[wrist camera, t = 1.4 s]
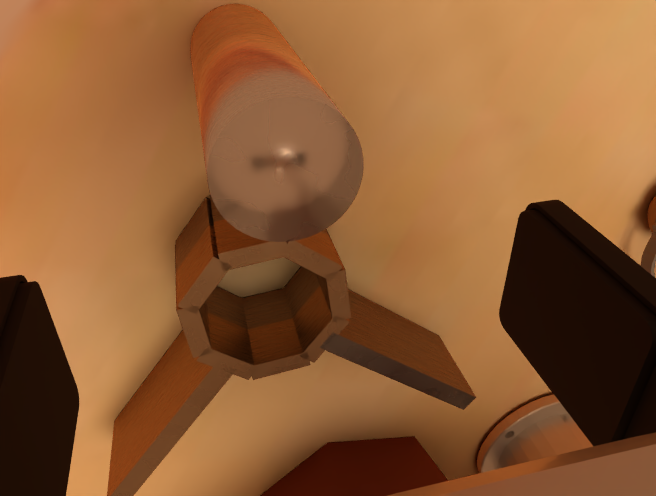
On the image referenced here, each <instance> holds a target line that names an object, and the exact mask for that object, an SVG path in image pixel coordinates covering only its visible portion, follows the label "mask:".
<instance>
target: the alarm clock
mask: <svg viewBox="0 0 656 496" xmlns="http://www.w3.org/2000/svg"><path fill="white" fill-rule="evenodd" d="M648 224H649V227H650V230H651V232H652V236H651V238H650V240H649V242H648V244H647V245H646V247H645V250H644V252H643V255H642V260H641V267H643V268H644V269H645V270H646V271H647V272H649V273H650V274H651V275H652V276H654V277H655V273H654V267H655V261H656V196H655V197H654V198H653V200H652V201H651V202H650V205H649V209H648Z"/></svg>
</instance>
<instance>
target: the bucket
mask: <svg viewBox="0 0 656 496" xmlns="http://www.w3.org/2000/svg"><path fill="white" fill-rule="evenodd" d="M446 481H448V480H447V479H446V477H445V476H444V475H443V473H442V472H441V471H440V470H439V468H438V467H437V466H436V464H435V463H434V462H433V460H432V459H431V458H430V456H429V455H428V454H427V452H426V451H425V450H424V448H423V447H422V446H421V444H420V443H419V442H418V441H417V439H416V438H415V437H414V436H412V437H398V438H384V439H371V440H357V441H343V442H329V443H326V444H325V445H324V446H323V447H321V448H320V449H319V450H317V451H316V452H315V453H314V454H312V455H311V456H310V457H309V458H307V459H306V460H305V461H303V462H302V463H301V464H300V465H298V466H297V467H296V468H295V469H293V470H292V471H291V472H289V473H288V474H287V475H286V476H284V477H283V478H282V479H281V480H279V481H278V482H277V483H275V484H274V485H273V486H272V487H270V488H269V489H268V490H267V491H265V492H264V493H263V494H262V495H261V496H387V495H392V494H396V493H400V492H404V491H408V490H412V489H416V488H421V487H425V486H429V485H433V484H437V483H441V482H446Z"/></svg>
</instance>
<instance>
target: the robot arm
mask: <svg viewBox="0 0 656 496" xmlns="http://www.w3.org/2000/svg"><path fill="white" fill-rule="evenodd" d="M499 317H500V321H501V324H502V326H503V328H504V329H505V331H506V332H507V333H508V335H509V336H510V337H511V338H512V340H513V341H514V342H515V344H516V345H517V346H518V348H519V349H520V350H521V352H522V353H523V354H524V356H525V357H526V358H527V360H528V361H529V362H530V364H531V365H532V366H533V367H534V369H535V370H536V371H537V373H538V374H539V375H540V377H541V378H542V379H543V381H544V382H545V383H546V385H547V386H548V387H549V389H550V390H551V391H552V393H553V395H549V396H545V397H542V398H540V399H537V400H535V401H532V402H530V403H528V404H526V405H524V406H522V407H520V408H519V409H517V410H516V411H514V412H513V413H511V414H510V415H508V416H507V417H506V418H505V419H503V420H502V421H501V422H500V423H499V424H498V425H497V426H496V427H495V428H494V429H493V430H492V431H491V432H490V433H489V435H488V436H487V438H486V439H485V441H484V442H483V444H482V446H481V448H480V451H479V453H478V458H477V468H478V472H479V474H475V475H471V476H466V477H462V478H458V479H454V480H450V481H446V482H441V483H437V484H433V485H429V486H425V487H421V488H416V489H412V490H408V491H404V492H400V493H396V494H392V495H387V496H656V278H655V277H654V276H652V275H651V274H650V273H649V272H647V271H646V270H645V269H644V268H643V267H641V266H640V265H639V264H638V263H636V262H635V261H634V260H633V259H631V258H630V257H629V256H628V255H627V254H625V253H624V252H623V251H622V250H620V249H619V248H618V247H617V246H616V245H614V244H613V243H612V242H611V241H609V240H608V239H607V238H606V237H604V236H603V235H602V234H601V233H600V232H598V231H597V230H596V229H595V228H593V227H592V226H591V225H590V224H589V223H587V222H586V221H585V220H584V219H582V218H581V217H580V216H579V215H578V214H576V213H575V212H574V211H573V210H571V209H570V208H569V207H568V206H566V205H565V204H564V203H563V202H561V201H559V200H550V201H543V202H536V203H531V204H529V205H528V206H527V208H526V210H525V211H523V212H521V214H520V215H519V218H518V223H517V228H516V233H515V237H514V242H513V247H512V252H511V257H510V262H509V266H508V271H507V276H506V281H505V286H504V291H503V295H502V300H501V305H500V310H499ZM78 410H79V394H78V389H77V385H76V383H75V380H74V377H73V375H72V372H71V369H70V366H69V364H68V361H67V358H66V356H65V353H64V350H63V347H62V345H61V342H60V339H59V337H58V334H57V331H56V328H55V326H54V323H53V320H52V318H51V315H50V312H49V309H48V307H47V304H46V301H45V299H44V296H43V293H42V290H41V288H40V286H39V284H38V283H37V282H36V281H33V282H27V280H26V278H25V277H24V276H22V275H17V276H10V277H3V278H0V496H66V491H67V484H68V477H69V471H70V464H71V457H72V450H73V444H74V437H75V430H76V424H77V417H78Z"/></svg>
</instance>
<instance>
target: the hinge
mask: <svg viewBox="0 0 656 496" xmlns="http://www.w3.org/2000/svg"><path fill="white" fill-rule="evenodd" d="M281 257H285V258H287V259H289V260H291V261H293V262H295V263H296V264H298V265H300V266H301V268H300V269H299V270H298V271H297V272H296V274H295V275H294V276H293V277H292V279H291V280H290V281H289V282H288V284H287V285H286V286H285V287H284V288H282V289H278V290H274V291H270V292H266V293H262V294H258V295H253V296H249V297H245V298H241V297H238V296H236V295H234V294H232V293H230V292H227V291H225V290H223V289H221V288H218V287H216V286H217V285H218V283H219V282H220V281H221V279H222V278H223V277H224V275H225V274H226V273H227V271H228V270H230V269H234V268H239V267H243V266H247V265H251V264H256V263H260V262H264V261H268V260H273V259H277V258H281ZM175 268H176V311H177V313H178V316H179V319H180V322H181V325H182V328H183V330H182V332H181V333H180V334H179V336H178V337H177V338H176V340H175V341H174V342H173V344H172V345H171V346H170V348H169V349H168V350H167V352H166V353H165V354H164V356H163V357H162V358H161V360H160V361H159V362H158V364H157V365H156V366H155V368H154V369H153V370H152V372H151V373H150V374H149V376H148V377H147V378H146V380H145V381H144V382H143V384H142V385H141V386H140V388H139V389H138V390H137V392H136V393H135V394H134V396H133V397H132V398H131V400H130V401H129V402H128V404H127V405H126V406H125V408H124V409H123V410H122V412H121V413H120V414H119V416H118V417H117V418H116V420H115V421H114V430H113V440H112V450H111V460H110V471H109V481H108V491H107V496H134V494H135V493H136V492H137V491H138V489H139V488H140V487H141V486H142V485H143V483H144V482H145V481H146V480H147V478H148V477H149V476H150V475H151V474H152V472H153V471H154V470H155V469H156V467H157V466H158V465H159V464H160V463H161V461H162V460H163V459H164V458H165V456H166V455H167V454H168V453H169V451H170V450H171V449H172V448H173V447H174V445H175V444H176V443H177V442H178V440H179V439H180V438H181V437H182V436H183V434H184V433H185V432H186V431H187V429H188V428H189V427H190V426H191V425H192V423H193V422H194V421H195V420H196V418H197V417H198V416H199V415H200V413H201V412H202V411H203V410H204V409H205V407H206V406H207V405H208V404H209V402H210V401H211V400H212V399H213V398H214V396H215V395H216V394H217V393H218V391H219V390H220V389H221V388H222V387H223V385H224V384H225V383H226V382H227V380H228V379H229V378H230V377H231V375H232V374H234V375H237V376H239V377H242V378H245V379H248V380H249V378H250V377H251V376H252V378H253V380H255V379H258V378H262V377H266V376H270V375H274V374H278V373H281V372H285V371H289V370H293V369H297V368H300V367H304V366H308V365H310V361H312V362H315V361H316V360H317V359H318V358H319V357H320V355H321V354H322V353H323V352H324V351H325V350H326V351H328V352H331V353H333V354H335V355H338V356H340V357H342V358H345V359H347V360H349V361H352V362H354V363H356V364H359V365H361V366H363V367H366V368H368V369H370V370H372V371H375V372H377V373H379V374H382V375H384V376H386V377H389V378H391V379H393V380H396V381H398V382H400V383H403V384H405V385H407V386H410V387H412V388H414V389H417V390H419V391H421V392H424V393H426V394H428V395H431V396H433V397H435V398H438V399H440V400H442V401H444V402H447V403H449V404H451V405H454V406H456V407H458V408H461V409H463V410H464V409H465V408H466V407H467V406H468V405H469V404H470V403H471V402H472V401H473V400H474V399H475V398H476V396H475V395H474V393H473V391H472V390H471V388H470V386H469V385H468V383H467V381H466V380H465V378H464V376H463V375H462V373H461V371H460V370H459V368H458V366H457V365H456V363H455V361H454V360H453V358H452V356H451V355H450V353H449V352H448V350H447V348H446V347H445V345H444V343H443V342H442V340H441V338H440V337H439V336H438V335H436V334H434V333H433V332H431V331H429V330H427V329H425V328H423V327H421V326H419V325H417V324H415V323H413V322H411V321H409V320H407V319H405V318H403V317H401V316H399V315H397V314H395V313H393V312H392V311H390V310H388V309H386V308H384V307H382V306H380V305H378V304H376V303H374V302H372V301H370V300H368V299H366V298H364V297H362V296H360V295H358V294H356V293H354V292H352V291H351V290H349V289H348V288H347V280H346V272H345V268H344V266H343V264H342V262H341V260H340V258H339V255H338V253H337V251H336V249H335V247H334V245H333V242H332V240H331V238H330V236H329V234H328V232H327V229H325V230H323V231H321V232H319V233H317V234H315V235H312V236H310V237H307V238H304V239H300V240H295V241H288V242H271V241H265V240H260V239H257V238H254V237H251V236H249V235H246V234H244V233H242V232H241V231H239V230H237V229H236V228H235V227H233V226H232V225H231V224H230V223H228V222H227V221H226V219H225V218H224V217H223V216H222V215H221V214H220V212H219V211H218V209H217V208H216V206H215V204H214V202H213V200H212V197H211V195H210V199H208V198H205V200H204V201H203V202H202V204H201V205H200V207H199V208H198V210H197V211H196V213H195V214H194V215H193V217H192V218H191V220H190V221H189V223H188V224H187V225H186V227H185V228H184V230H183V231H182V233H181V234H180V236H179V237H178V238H177V240H176V245H175Z"/></svg>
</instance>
